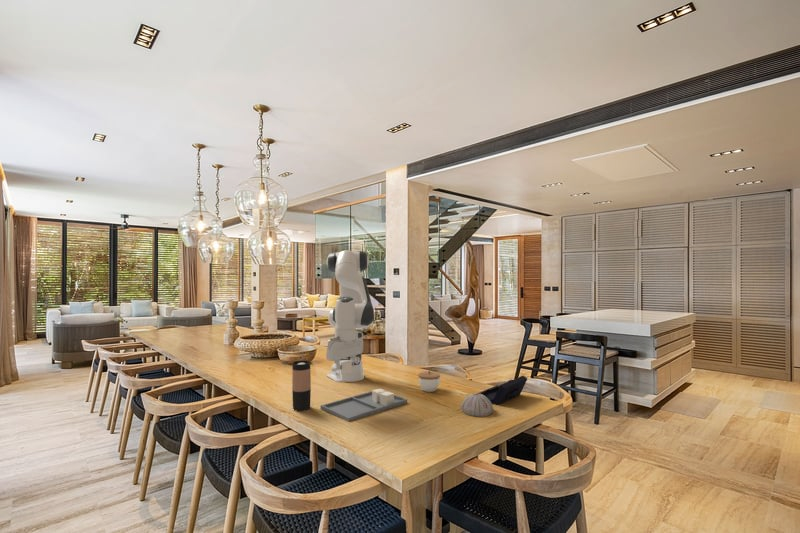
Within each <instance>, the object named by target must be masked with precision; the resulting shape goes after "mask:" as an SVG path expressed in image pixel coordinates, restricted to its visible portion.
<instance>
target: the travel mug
mask: <svg viewBox="0 0 800 533" xmlns="http://www.w3.org/2000/svg"><path fill="white" fill-rule="evenodd" d="M291 369H292V372H291V373H292V376H291V377H292V378H291V379H292V380H291V382H292V383H291V384H292V387H291V388H292V392H291V393H292V410H293V409H294V410H293V411H295V410H297V411H296V412H305V411H308V410H310V409H311V390H312V387H311V386H312V383H311V378H312V377H311V361H309V360H297V361H294V362H292V368H291ZM304 410H305V411H304Z"/></svg>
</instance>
